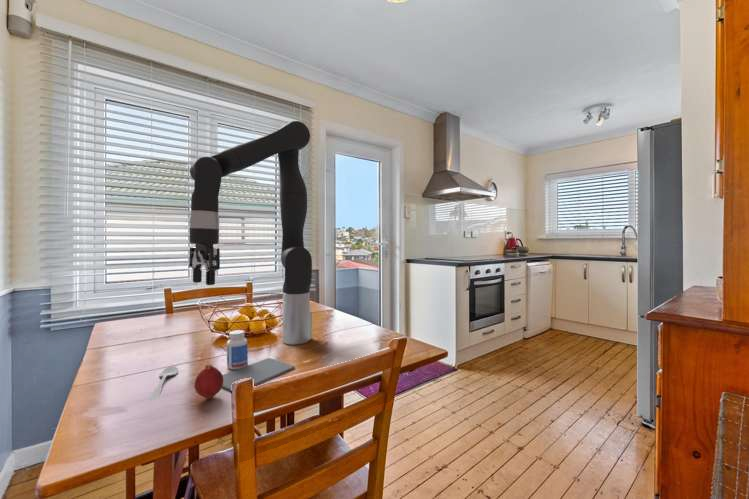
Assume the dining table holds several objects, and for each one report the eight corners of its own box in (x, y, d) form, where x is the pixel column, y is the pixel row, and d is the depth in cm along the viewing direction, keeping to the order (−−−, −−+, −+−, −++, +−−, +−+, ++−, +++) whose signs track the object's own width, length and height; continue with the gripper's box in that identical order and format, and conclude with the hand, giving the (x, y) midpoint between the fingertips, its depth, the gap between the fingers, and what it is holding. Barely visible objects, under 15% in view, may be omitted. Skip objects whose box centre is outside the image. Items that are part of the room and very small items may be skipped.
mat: (268, 359, 97) (268, 357, 97) (294, 368, 91) (294, 366, 91) (209, 382, 82) (209, 379, 82) (236, 394, 76) (236, 391, 76)
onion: (201, 392, 76) (201, 359, 76) (227, 392, 77) (227, 358, 76) (190, 405, 70) (189, 369, 70) (217, 404, 71) (217, 368, 71)
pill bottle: (251, 363, 94) (251, 330, 93) (238, 371, 89) (238, 335, 88) (236, 361, 96) (236, 328, 95) (222, 368, 90) (222, 333, 90)
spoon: (181, 369, 90) (180, 363, 90) (159, 407, 71) (158, 399, 71) (163, 371, 89) (163, 365, 89) (136, 410, 69) (136, 402, 69)
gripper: (229, 227, 92) (228, 284, 93) (206, 228, 101) (205, 280, 102) (201, 226, 87) (200, 287, 87) (180, 227, 96) (179, 282, 96)
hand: (203, 283), depth 94 cm, fingers open, 8 cm apart
